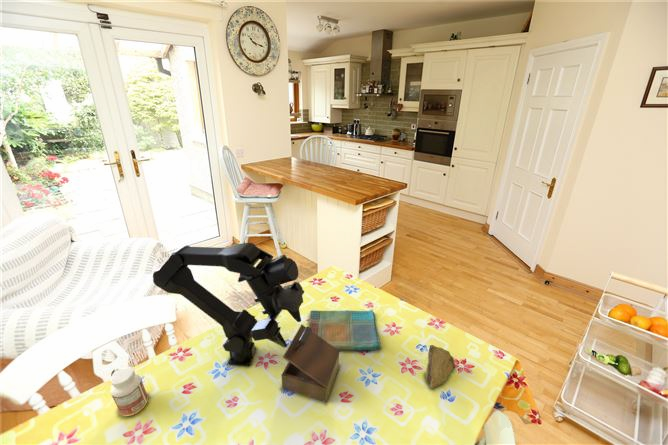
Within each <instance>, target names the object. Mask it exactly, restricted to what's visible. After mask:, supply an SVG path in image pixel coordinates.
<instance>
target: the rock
mask: <svg viewBox="0 0 668 445" xmlns="http://www.w3.org/2000/svg"><path fill="white" fill-rule="evenodd" d="M455 369H456V363H455V358H454V356H452V355H451V353H450V351H448V350H447V349H444V348H442V347H440V346H436V345H434V344H429V348H428V353H427V365H426V369H425V377H426V381H427V384H428V386H429V387H430V389H432V390H433V389H435V387H437V386H439V385H442V384H443V383H445V381H446V380H447V379H448V377H449V376H450V374H451V372H453V371H455Z"/></svg>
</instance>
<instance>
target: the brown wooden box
mask: <svg viewBox="0 0 668 445" xmlns="http://www.w3.org/2000/svg"><path fill="white" fill-rule="evenodd" d="M339 368H340V354H339V355H338V358H337V361H336V363H335V366H334V369H333V372H332V374H331V377H330V380H329V383H328V385H327V387H326V388H325V387H324V386H322V385H321V384H319V383H318V382H317V381H315V380H314V379H312V378H311V377H310V376H308V375H307V374H305V373H304V372H303V371H301V370H300V369H298V368H297V367H296V366H294V365H293V364H291V363H290V362H289V361H287V364H286V366H285V368H284V369H283V371H282V373H281V374H280V376H281V386H282V389H283V390H286V391H289V392H292V393H295V394H299V395H302V396H305V397H307V398H312V399H314V400H317V401H321V402H324V403H327V401H328V400H329V396H330V393H331V390H332V387H333V384H334V382H335V380H336V379H335V378H336V376H337V373H338V370H339Z"/></svg>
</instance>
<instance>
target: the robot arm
mask: <svg viewBox="0 0 668 445" xmlns="http://www.w3.org/2000/svg"><path fill="white" fill-rule="evenodd" d="M259 260H260V261H259ZM255 265H256V266H255ZM189 266H200V267H201V266H202V267H221V268H224V269H226V270H227V271H228V272H231V273H236V274H239V276H238V279H237V282H238V283H241V282H244V281H246V283H247V284H248V286H249V288H250V289H251V291H252V292H253V294H254V296H255V297H254V298H253V300H254V302H255V303H260V305H261V306H262V308H263V309H262V311H261V313H262V315H268V316H267V318H266V319H261V320H258V319H256V316H255V315H253V314H251V313H250V312H249V311H248V310H247V309H242V311H238V310H234V309H233V308H231V307H230V306H229V305H227V304H226V303H225V302H223V301H222V300H221V299H220V298H219V297H217V296H216V295H215V294H213V293H212V292H211V291H210V290H208V289H206V288H205V286H203V285H202V284H200V283H199V282H198V281H196V279H195V277H194V275H193V272H192V270H191V269H190V268H189ZM298 267H299V266H298V264H297V263H296V260H294V259H292V258H291V257H287V255H286V254H282V255H280V256H278V257H275V258H274V256H273V255H272V254H271V253H269V252H267V251H265V250H263V249H261V248H260V247H259V246H256V244H255V243H253V242H242V243H237V244H234V245H231V246H227V247H210V246H190V245H188V244H187V245H186V244H185V245H182V246H180V247H179V248H178V249H177V250H174V251H173V252H171V255H170V256H169V257H168V258H167V260H166V261H165V262H164V263H163V264H162V265H161V266H160V267H159V268H158V269H157V270H155V271H154V272H153V274H152V282H153V284H154V285H155V286H156V287H157V288H159V289H161V290H163V291H164V292H166V293H167V294H175V295H180V296H182V297H184V299H186V300H187V301H189V302H190V303H191V304H192V305H194V306H195V307H196V308H198V309H199V310H201V311H202V312H203V313H205V315H207V316H208V317H209V318H211V319H212V320H214V321H215V322H216V323H217V324H219V325H220V326H221V327H222V330H223V333H224V336H225V337H226V338H227V339H226V340H225V341H224V343H223V344H222V347H223V349H224V351H226V352H228V354H229V359H228V362H227V364H228V365H232V366H233V365H234V366H244V367H246V366H247V367H250V365H251V363H252V360H254V357H255V355H256V353H257V352H256V351H257V347H256V344H255V342H257V341H263V340H268V341H270V342H273V343H274V344H276V345H278V346H280V347H282V348H288V344H287V342H286V340H285V338H284V337H283V335H282V333H281V328H282V327H281V326H279V323H278V322H277V319H278V317H279V316H280V314H281V313H282V311H287V312H288V313H289V315H290V316H291V317H292V318H293V319H294V320H295V321H296V322H297V323H301V322H302V317H301V311H300V307H301V305H302V304H303V303H304V298H303V295H304V293H305V290H304V289H303V286H302V285H301V284H300V282H299V281H296V280H297V279H298V278H299V268H298ZM293 281H294V282H293ZM290 282H293V283H292V284H287V283H290ZM283 284H287V285H283ZM282 285H283V286H282Z"/></svg>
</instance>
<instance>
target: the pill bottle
mask: <svg viewBox="0 0 668 445" xmlns="http://www.w3.org/2000/svg"><path fill="white" fill-rule="evenodd" d="M109 381H110V384H111V385H110V394H111V397H112V399H113V401H114V403H115V405H116V407H117V410H118V412H119V414H120V415H122V416H123V417H130V416H133V415H136V414H137V413H139V412H141V410H143V408H145V406H146V405H147V402H148V401H149V400H148V398H149V397H148V393H147V391H146V388H145V386H144V383H143V380H142V378H141V375H140V374H139V373H138V372H135V370H134V368H133V367H132V366H123V367H121V368H119V369H117V370H116V371H115V372H113V373H112V375H111V376H110V380H109Z"/></svg>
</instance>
